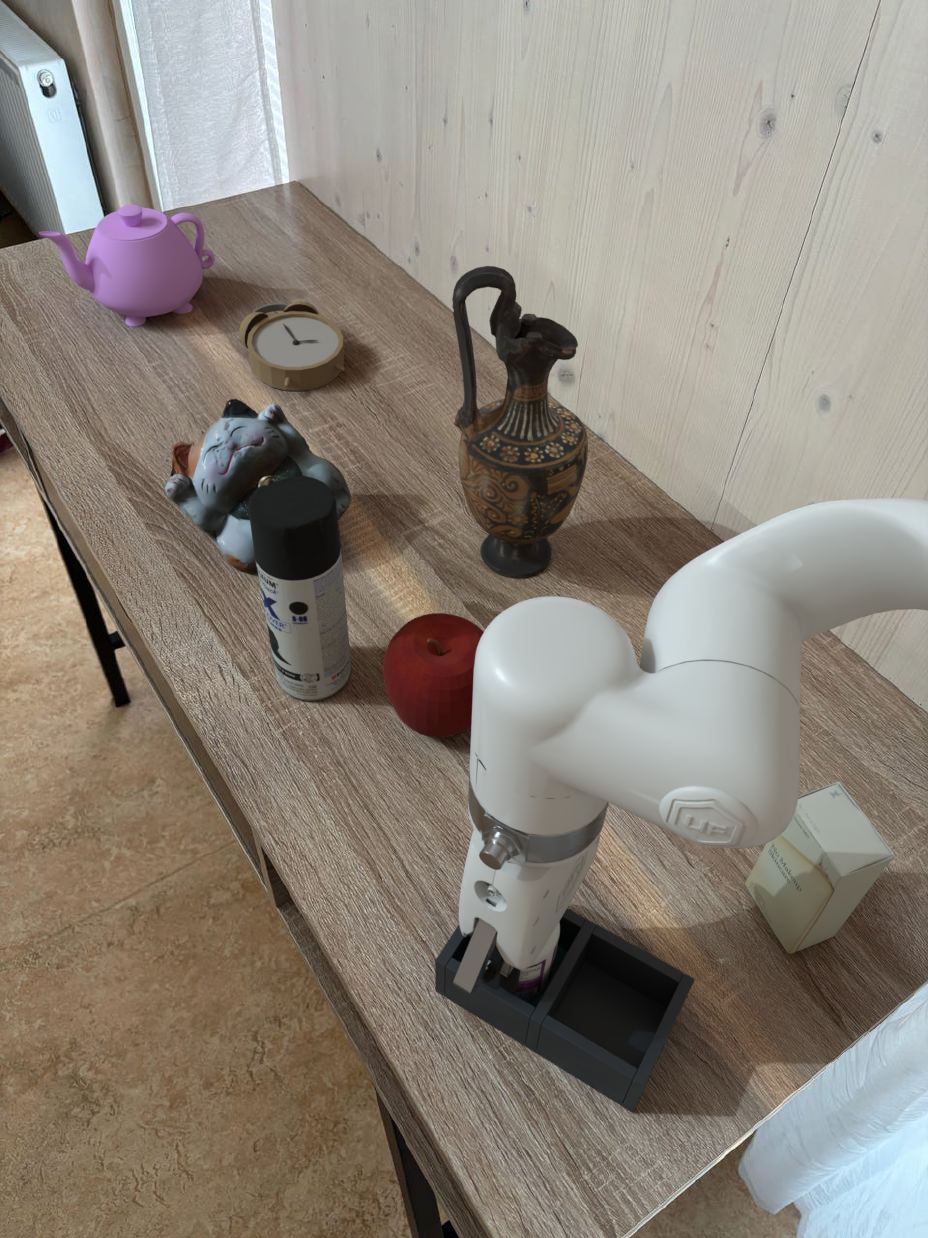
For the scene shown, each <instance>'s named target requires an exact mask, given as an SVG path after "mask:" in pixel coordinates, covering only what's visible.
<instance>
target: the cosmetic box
mask: <svg viewBox="0 0 928 1238" xmlns="http://www.w3.org/2000/svg"><path fill="white" fill-rule="evenodd" d="M893 858H894V852H893V850H891V848H890V846H889V845H888V844H887V843H886V842H885V839H884V838H883V837H882V835H881V834H880V833H879V831H877V829H876V828H875V827H874V825H873V823H872V822H871V821H870V819H869V818H868V817H867V816H866V815H865V813H864V811H862V809H861V808H860V807H859V805H858V803H856V801H855V800H854V799H853V798H852V796H851V795H850V794H849V793H848V791H847V789H845V787H844V786H843V784H842V783H841V782H840V781H836V782H834V783H831V784H828V785H826V786H822V787H820V788H817V789H815V790H811V791H809V792H806V793H804V794H801V795H798V801H797V807H796V810H795V813H794V816H793V818H792V820H791V822H790V823H789V825H788V827H787V828H786V829H785V831H784V832H783V833H781V834H780V835H779V836H778V837H777V838H776V839H774V840H772V841H770V842H768V843H766V844H764V847H763V848H762V850H761V852H760V854H759V856H758V858H757V860H756V861H755V862H754V863H755V864H754V865H753V866H752V869H751V871H750V873H749V874H748V876H747V879H746V880H745V882H744V886H745V888H746V889H747V891H748V892H749V894H750V895H751V897H752V899H753V901H754V902H755V904H756V906H757V908H758V909H759V911H760V912H761V914H762V915H763V917H764V918H765V920H766V922H767V923H768V925H769V927H770V929H771V930H772V932H773V933H774V934H775V936H776V938H777V939H778V941H779V942H780V944H781V946H782V947H783V949H784V950H785V952H786V953H787V954H788V955H792V954H795V953H797V952H799V951H802V950H805V949H807V948H809V947H812V946H814V945H816V944H819V943H821V942H824V941H826V940H829V939H831V938H833V937H835V936H836V934H838V932H839V930H840V929H841V928H842V927H843V925H844V924H845V923H846V921H847V920H848V918H850V916H851V915H852V913H853V912H854V910H855V909H856V907H857V906H858V905H859V904H860V902H861V901H862V899H863V898H864V897H865V896H866V894H867V893H868V892H869V890H870V889H871V888H872V886H873V885H874V883H875V882H876V881H877V880H878V879H879V877H880V875H881V874H882V873H883V872H884V870H885V869H886V867H887V866H888V865H889V863H890V862H891V861H892V859H893Z"/></svg>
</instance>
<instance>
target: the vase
mask: <svg viewBox="0 0 928 1238" xmlns="http://www.w3.org/2000/svg"><path fill="white" fill-rule="evenodd" d="M484 288H492V289H498V290H499V291H500V294H499V296H498V297H497V300H496V302H495V304H494V306H493V308H492V311H491V313H490V317H489V328H490V334H491V335H492V337H493V336H494V338H495V349H496V354H497V357H498V359H499V360H500V361H501V362H503V364H504V366H505V370H506V375H507V379H506V380H507V381H506V387H505V393H504V394H505V395H504V398H501V399H497V400H495V401H492V402H490V403H487V404H485V405H483V406H482V407H480V408H478V403H477V402H478V401H477V395H478V394H477V392H478V389H477V371H476V362H475V354H474V346H473V338H472V332H471V326H470V322H469V316H468V311H467V310H468V309H467V303H466V300H467V298H469V296H470V295H471V294H472V293H473V292H475V291H476V290H479V289H484ZM516 289H517V287H516V282H515V280H514V277H513V276H512V274H511V273H510V272H509V271H508V270H506V268H505V269H504V268H501V267H498V266H494V265H484V266H483V265H482V266H479V267H475V268H473V269H471V270H469V271H467V272H465V273H464V274H463V275H462V276H460V277H459V279H458V280H457V281H456V283H455V286H454V289H453V292H452V299H451V301H452V304H451V305H452V307H451V308H452V310H453V312H452V315H453V322H454V326H455V333H456V339H457V344H458V345H457V346H458V351H459V357H460V358H459V359H460V367H461V372H462V382H463V404H462V406H461V407H460V408H459V409H458V410H457V411H456V414H455V418H454V423H453V424H454V426H455V427H457V429H459V431H460V432H461V433H460V438H459V444H458V469H459V477H460V482H461V487H462V490H463V495H464V498H465V501H466V504H467V506H468V509H469V510H470V511H469V512H470V514H471V516H473V517H472V518H473V519H474V520H475V522H476V523H477V524H478V525H479V526H480V528H481V529H482V530H483V531H485V532H486V533H487V534H488V535H487V536H486V537H485V538H484V539H483V541H482V543H481V545H480V557H481V559H482V561H483V563H484V564H485V565H486V566H487V568H488V569H490V570H491V571H492V572H494V573H495V574H498V575H500V576H504V577H507V578H513V579H522V578H529V577H533V576H536V575H538V574H540V573H541V572H542V571H545V569H546V568H547V567H548V566H549V564H550V562H551V561H552V557H553V550H552V549H553V548H552V547H551V544H550V542H549V540H548V538H549V537H550V536H552V535H554V534H555V533H556V532H557V531H558V530H559V529H560V528H561V527H562V526H563V524H564V522H565V521H566V520H567V519H568V517H569V516H570V514H571V511H572V509H573V507H574V505H575V503H576V500H577V498H578V495H579V493H580V489H581V487H582V484H583V480H584V477H585V473H586V470H587V469H586V468H587V462H588V455H589V454H588V453H589V439H588V433H587V429H586V427H585V426H584V424H583V422H582V421H581V419H580V418H579V417H578V416H577V415H576V414H575V413H574V412H572V411H571V410H570V409H568V408H566V407H565V406H562V405H560V404H558V403H556V402H552V401H550V400H549V393H548V392H549V391H548V386H549V377H550V373H551V371H552V369H553V367H554V366H555V364H556V363H557V362H558V360H562V361H568V360H571V359H573V358H575V356H576V354H577V348H578V346H579V343H578V340H577V338H576V336H575V335H574V334H573V333H572V332H571V331H570V330H569V329H567V328H566V326H564V325H562V324H561V323H558V322H556V321H555V320H553V319H551V318H548V317H542V316H540V317H538V316H537V315H536V314H535V313H524V314H523V315H522V311H523V308H522V306H521V305H520V304H519V303H518V302H517V290H516Z"/></svg>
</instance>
